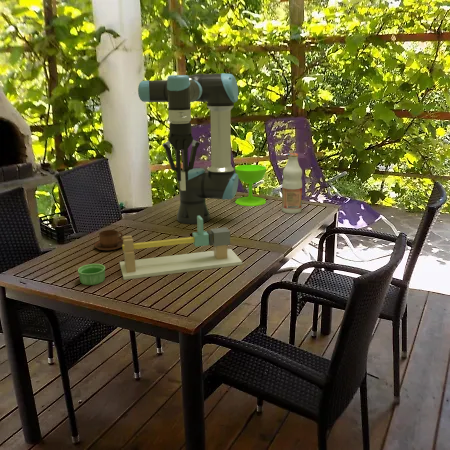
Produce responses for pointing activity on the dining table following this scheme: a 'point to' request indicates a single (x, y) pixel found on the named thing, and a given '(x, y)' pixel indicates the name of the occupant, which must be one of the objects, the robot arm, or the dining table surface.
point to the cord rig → (178, 256)
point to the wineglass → (250, 183)
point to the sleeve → (200, 234)
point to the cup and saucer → (109, 240)
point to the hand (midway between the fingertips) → (183, 189)
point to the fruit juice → (292, 186)
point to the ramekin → (92, 274)
